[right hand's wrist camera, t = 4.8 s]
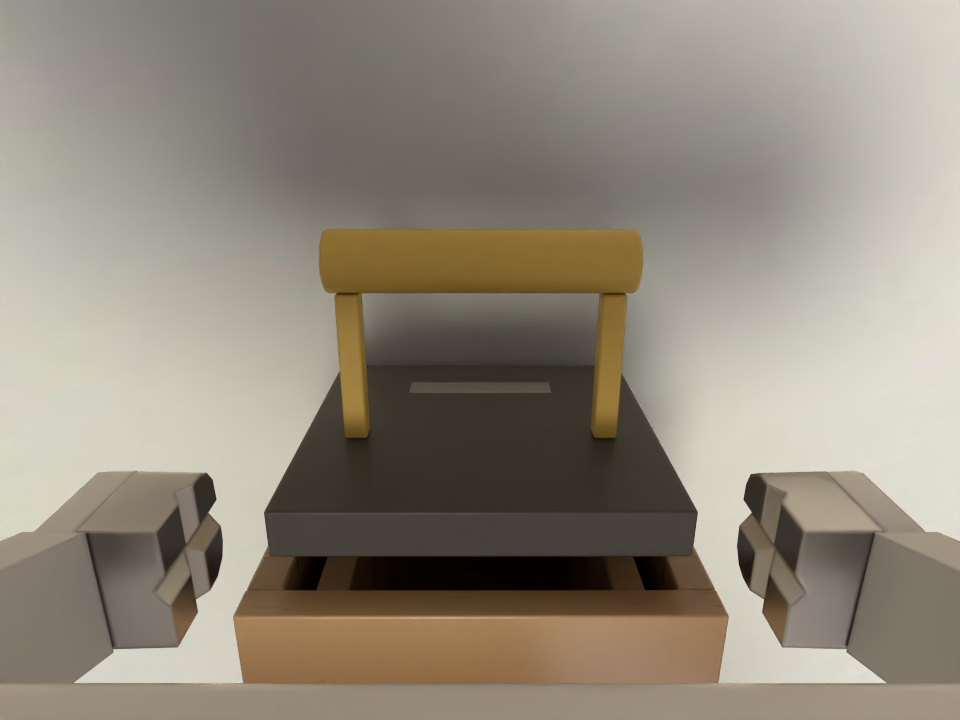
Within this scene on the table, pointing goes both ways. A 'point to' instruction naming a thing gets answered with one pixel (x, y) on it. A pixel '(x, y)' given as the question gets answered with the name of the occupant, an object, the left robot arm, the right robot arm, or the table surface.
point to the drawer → (480, 433)
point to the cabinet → (481, 630)
